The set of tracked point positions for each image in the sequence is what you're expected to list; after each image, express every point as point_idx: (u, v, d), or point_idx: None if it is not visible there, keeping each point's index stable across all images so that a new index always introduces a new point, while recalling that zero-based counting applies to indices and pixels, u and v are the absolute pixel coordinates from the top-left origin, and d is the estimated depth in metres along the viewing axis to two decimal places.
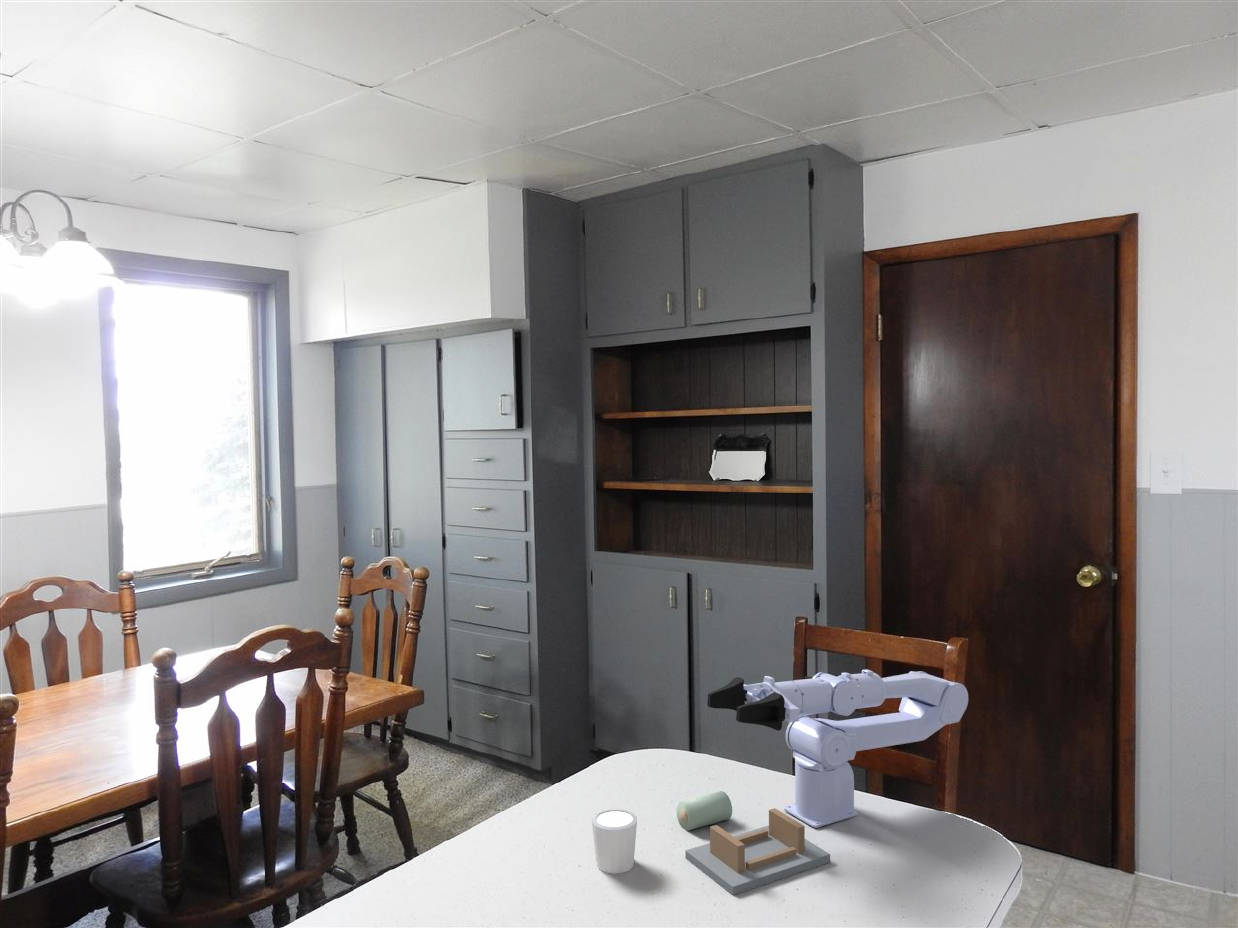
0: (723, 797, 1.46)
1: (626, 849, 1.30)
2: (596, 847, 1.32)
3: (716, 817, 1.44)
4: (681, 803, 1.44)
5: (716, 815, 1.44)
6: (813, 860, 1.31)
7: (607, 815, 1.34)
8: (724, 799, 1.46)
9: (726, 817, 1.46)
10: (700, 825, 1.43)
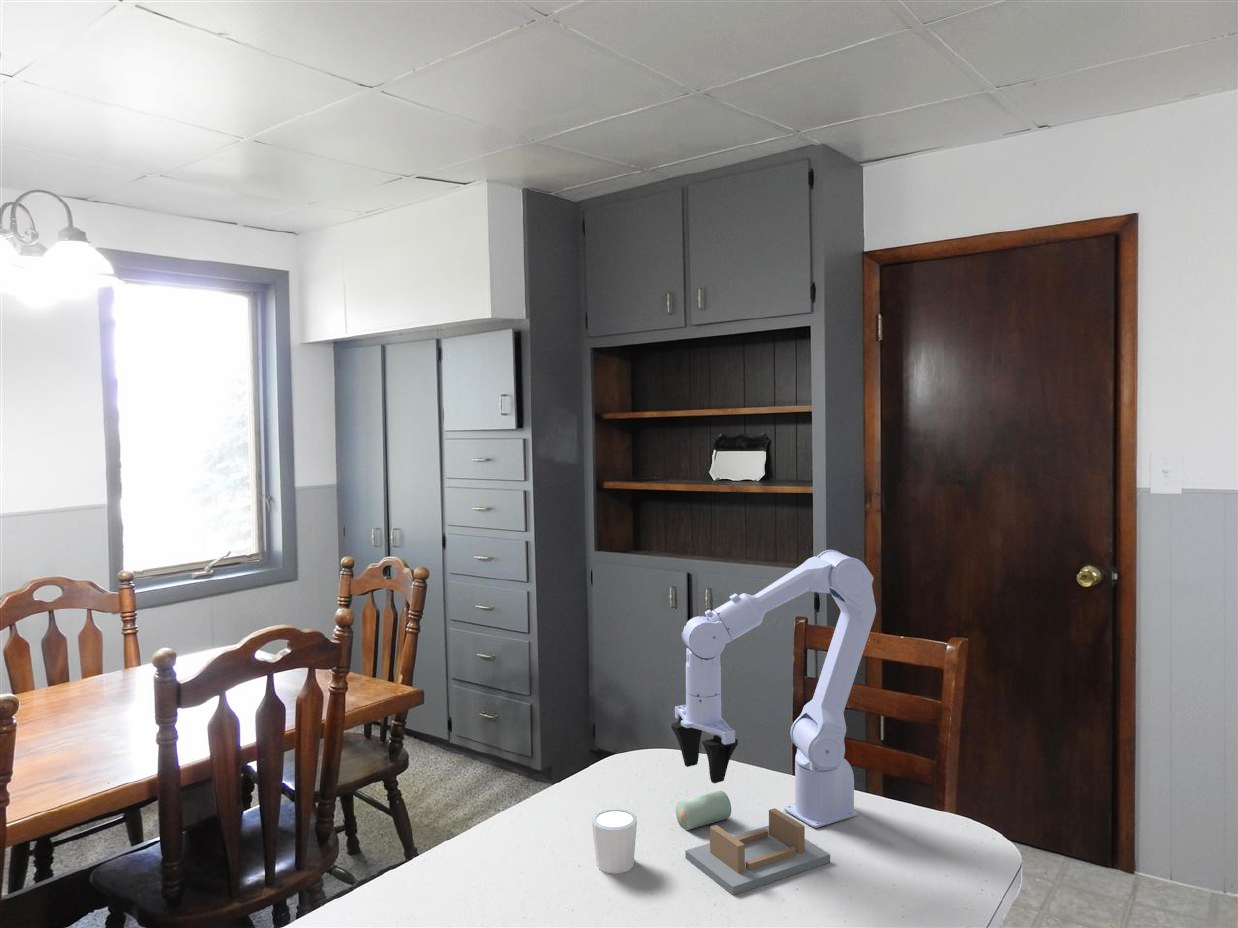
0: (721, 795, 1.47)
1: (626, 849, 1.30)
2: (596, 847, 1.32)
3: (715, 815, 1.44)
4: (680, 803, 1.45)
5: (715, 813, 1.44)
6: (813, 860, 1.31)
7: (607, 815, 1.34)
8: (722, 797, 1.46)
9: (725, 816, 1.46)
10: (700, 824, 1.43)
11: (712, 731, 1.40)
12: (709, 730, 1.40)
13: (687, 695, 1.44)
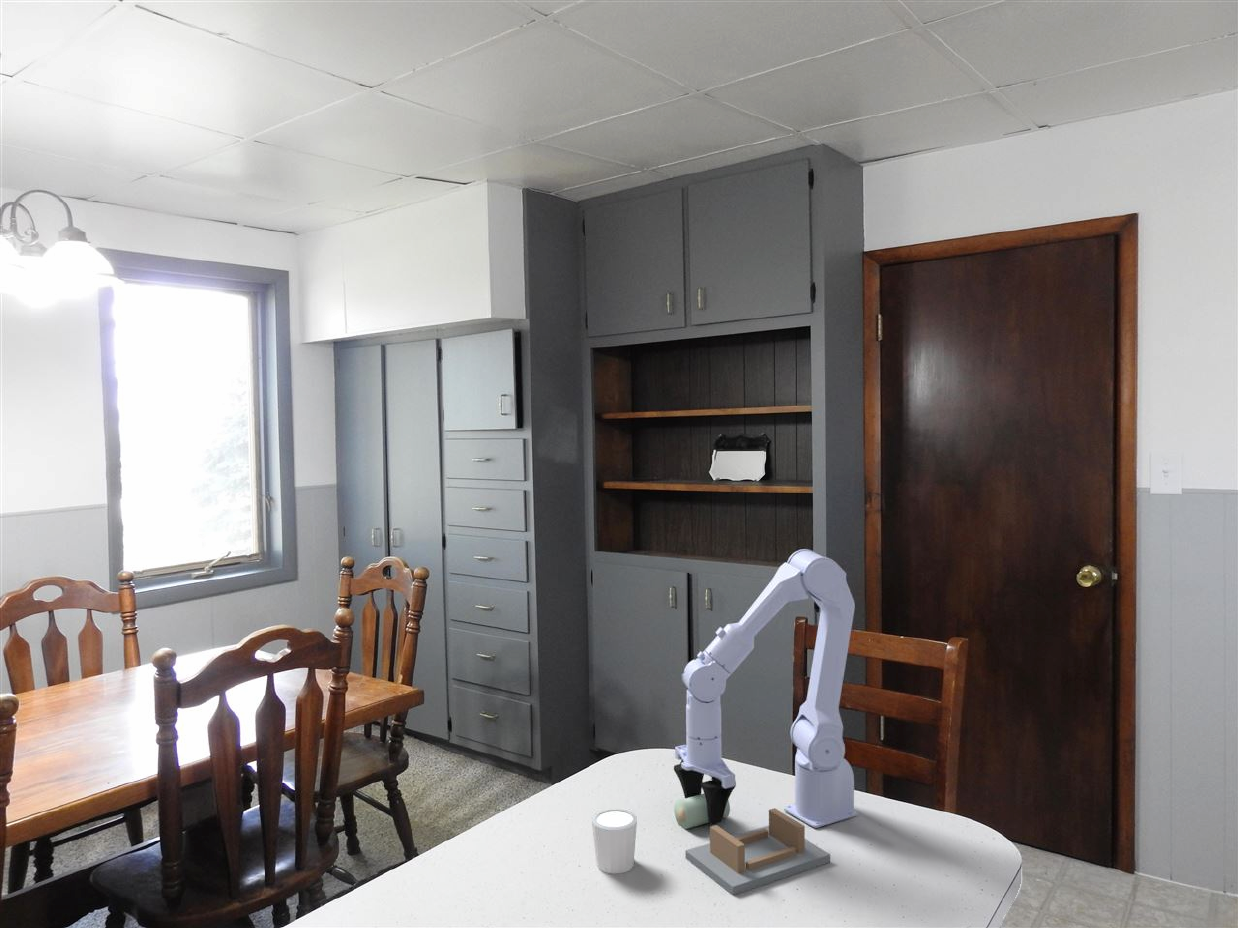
0: None
1: (626, 849, 1.30)
2: (596, 847, 1.32)
3: None
4: (677, 802, 1.45)
5: None
6: (813, 860, 1.31)
7: (607, 815, 1.34)
8: None
9: (724, 813, 1.46)
10: (699, 821, 1.43)
11: (712, 774, 1.40)
12: (709, 773, 1.41)
13: (687, 737, 1.44)
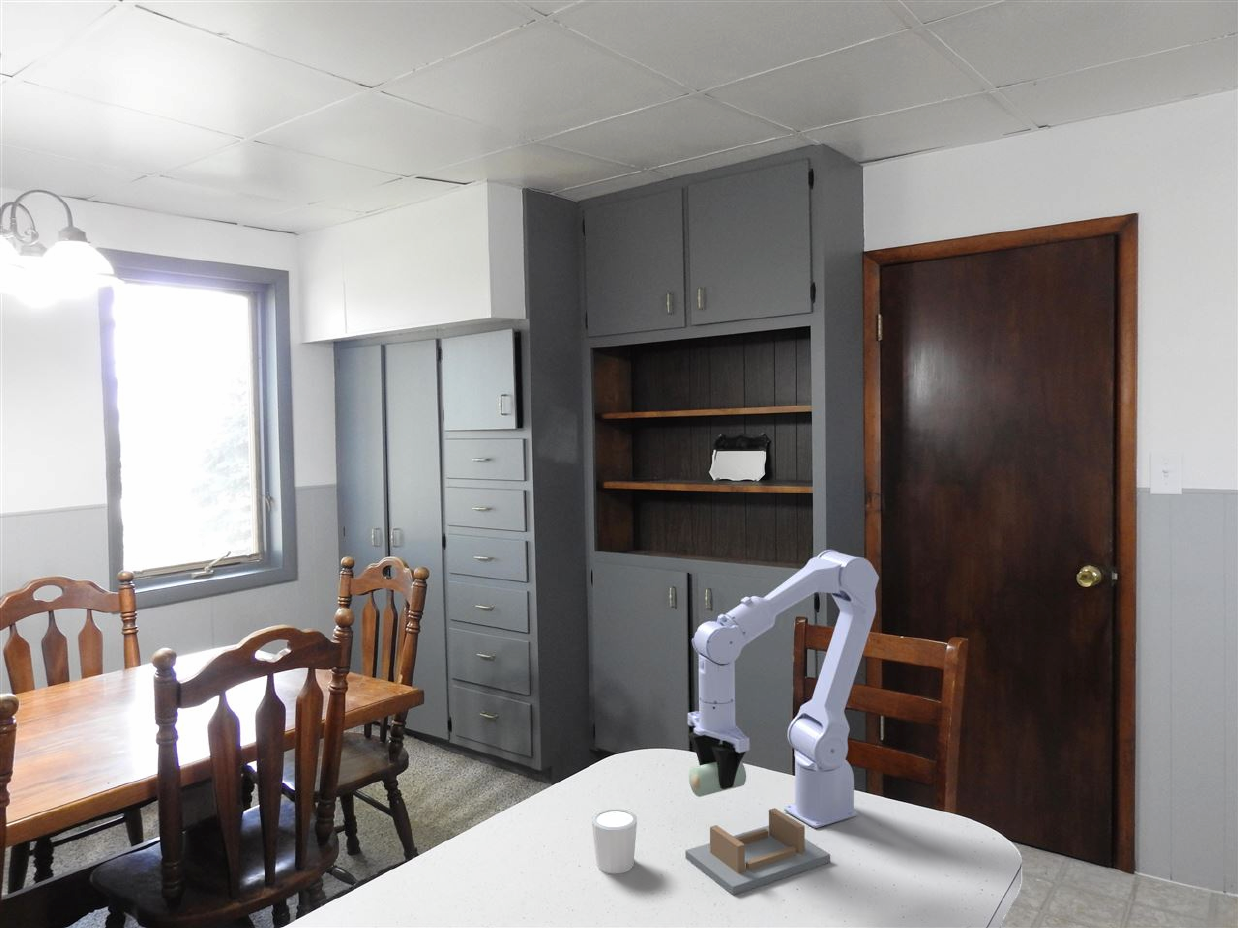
0: None
1: (626, 849, 1.30)
2: (596, 847, 1.32)
3: None
4: (694, 768, 1.41)
5: None
6: (813, 860, 1.31)
7: (607, 815, 1.34)
8: None
9: (740, 784, 1.42)
10: (713, 791, 1.40)
11: (726, 739, 1.37)
12: (723, 738, 1.37)
13: (700, 702, 1.41)
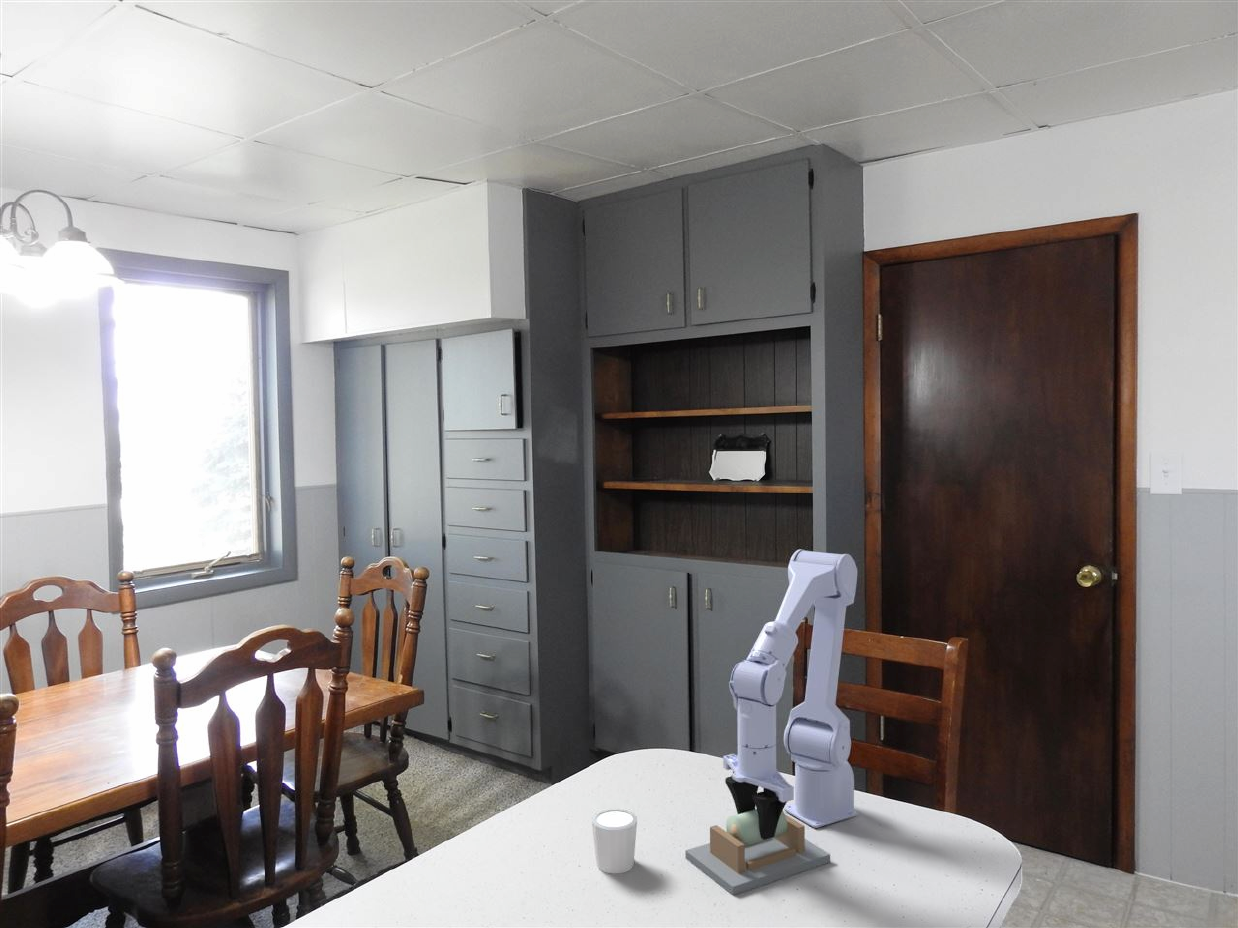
0: None
1: (626, 849, 1.30)
2: (596, 847, 1.32)
3: None
4: (732, 818, 1.32)
5: None
6: (813, 860, 1.31)
7: (607, 815, 1.34)
8: None
9: (780, 833, 1.33)
10: (753, 842, 1.31)
11: (768, 787, 1.28)
12: (765, 785, 1.28)
13: (739, 746, 1.32)
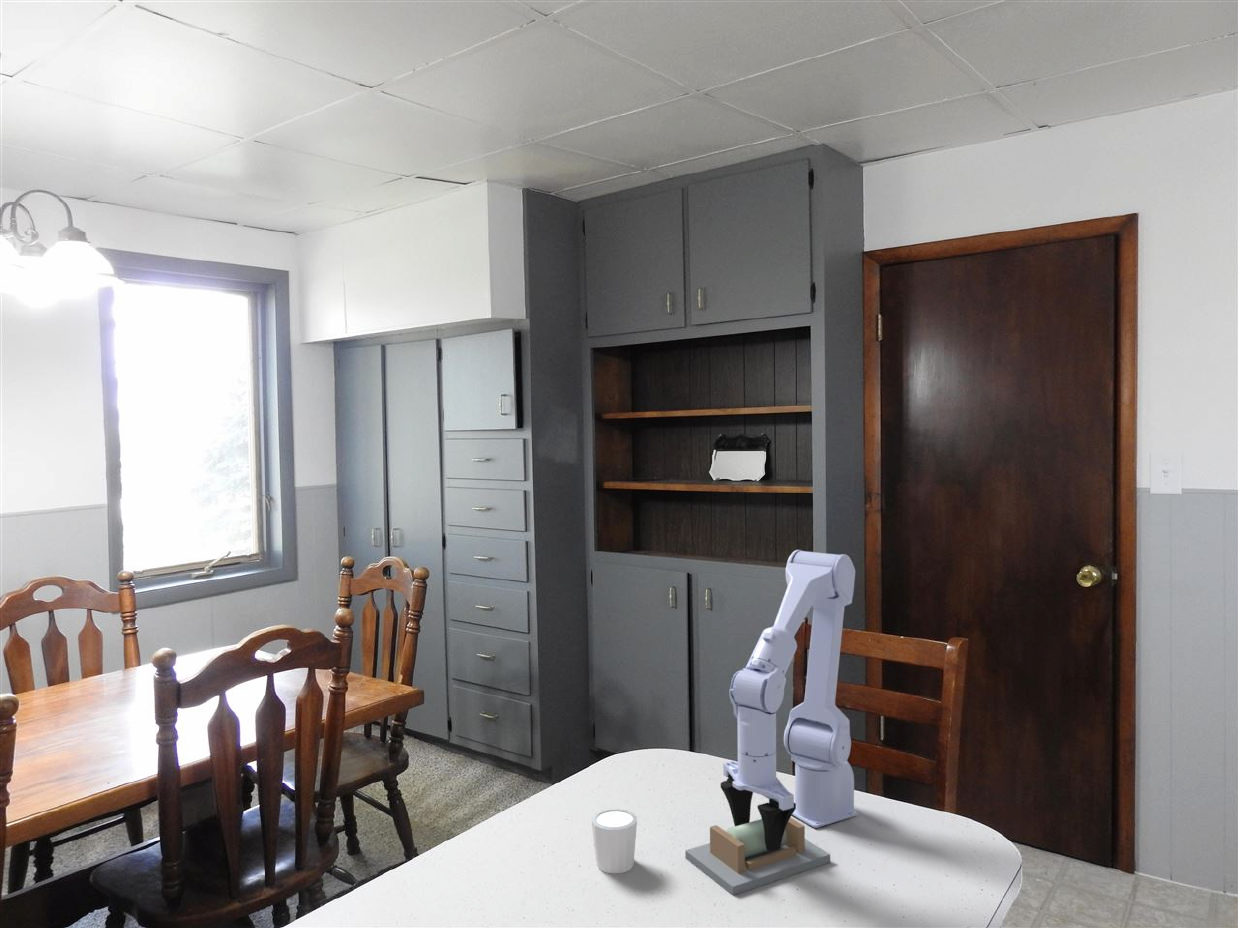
0: None
1: (626, 849, 1.30)
2: (596, 847, 1.32)
3: None
4: (731, 829, 1.32)
5: None
6: (813, 860, 1.31)
7: (607, 815, 1.34)
8: None
9: None
10: (753, 853, 1.31)
11: (768, 795, 1.28)
12: (765, 793, 1.28)
13: (739, 754, 1.32)
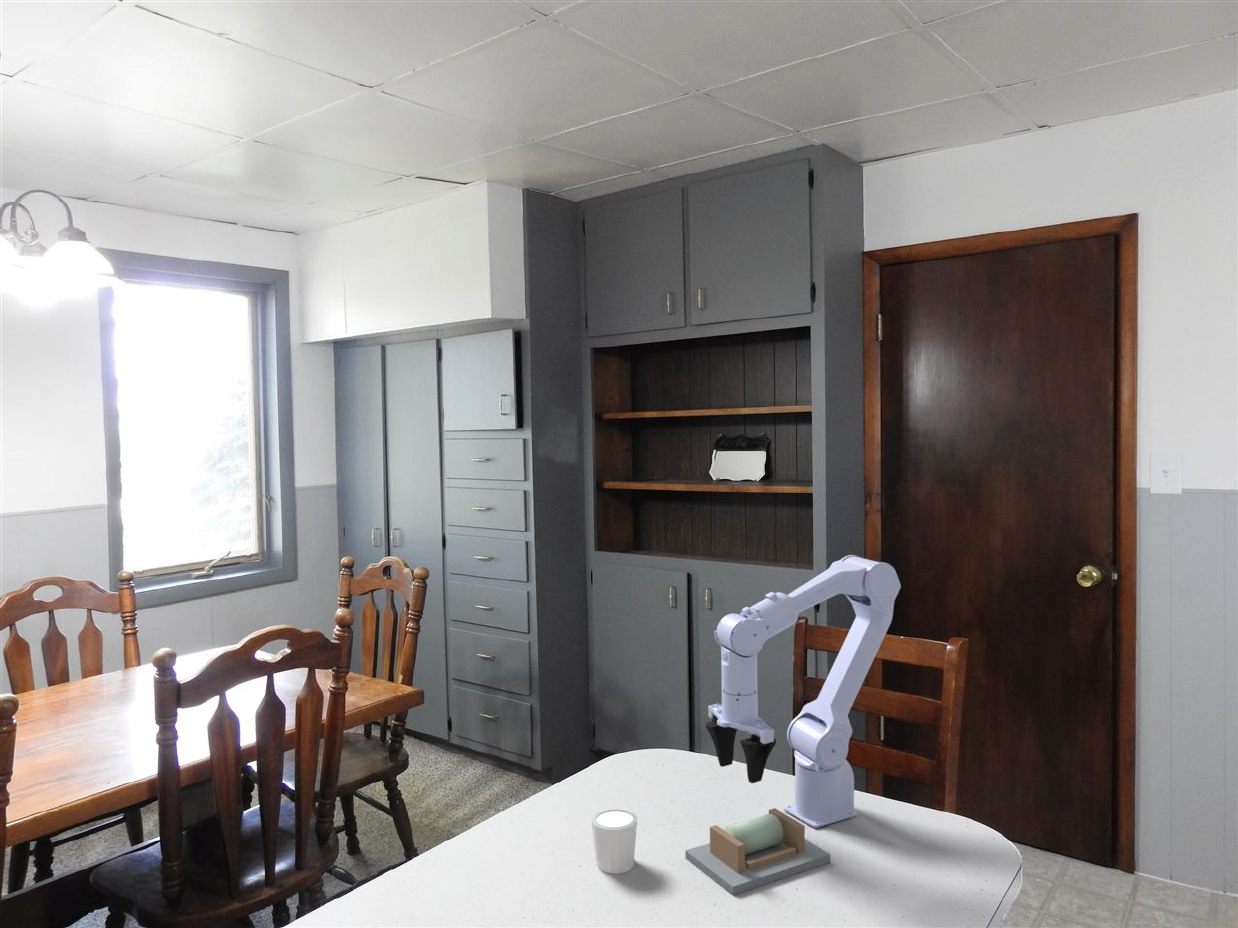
0: (769, 816, 1.35)
1: (626, 849, 1.30)
2: (596, 847, 1.32)
3: (766, 837, 1.33)
4: (726, 828, 1.33)
5: (766, 835, 1.33)
6: (813, 860, 1.31)
7: (607, 815, 1.34)
8: (771, 818, 1.35)
9: (778, 838, 1.34)
10: (751, 848, 1.31)
11: (750, 730, 1.38)
12: (747, 729, 1.38)
13: (723, 694, 1.41)
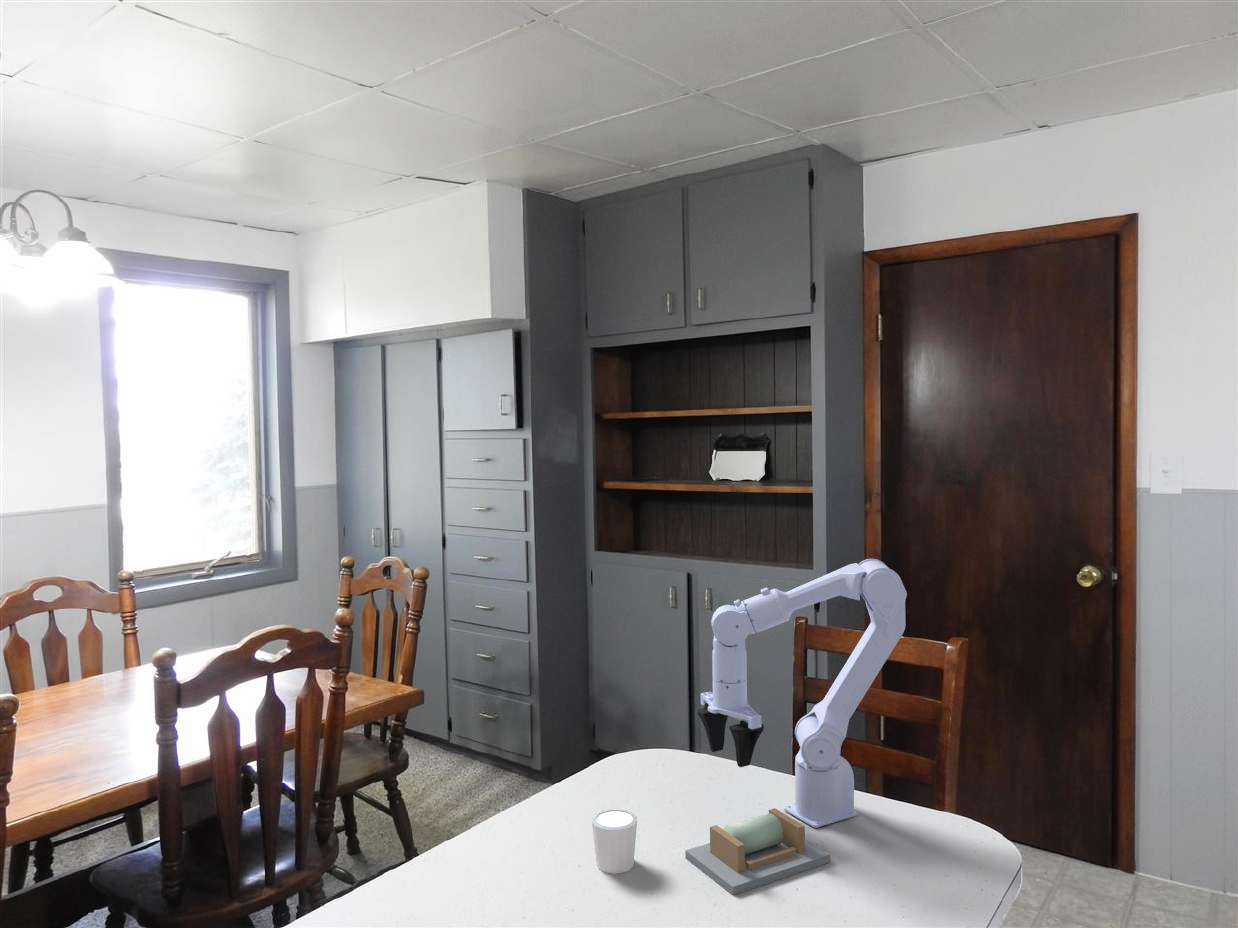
0: (769, 816, 1.35)
1: (626, 849, 1.30)
2: (596, 847, 1.32)
3: (766, 837, 1.33)
4: (725, 828, 1.33)
5: (765, 834, 1.33)
6: (813, 860, 1.31)
7: (607, 815, 1.34)
8: (771, 818, 1.35)
9: (778, 838, 1.34)
10: (751, 847, 1.31)
11: (739, 716, 1.44)
12: (736, 715, 1.44)
13: (714, 682, 1.47)
